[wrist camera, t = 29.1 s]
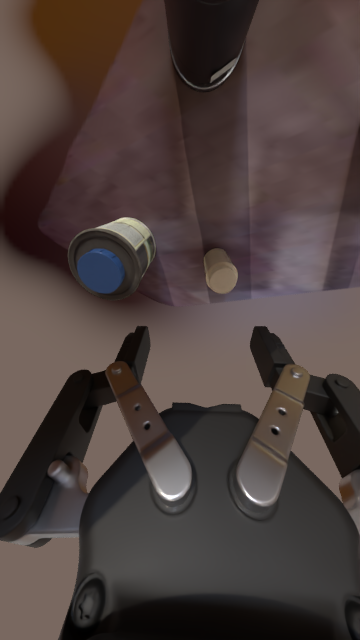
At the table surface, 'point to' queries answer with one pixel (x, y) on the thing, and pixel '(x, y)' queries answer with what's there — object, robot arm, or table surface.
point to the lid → (101, 270)
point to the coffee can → (116, 252)
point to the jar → (219, 271)
